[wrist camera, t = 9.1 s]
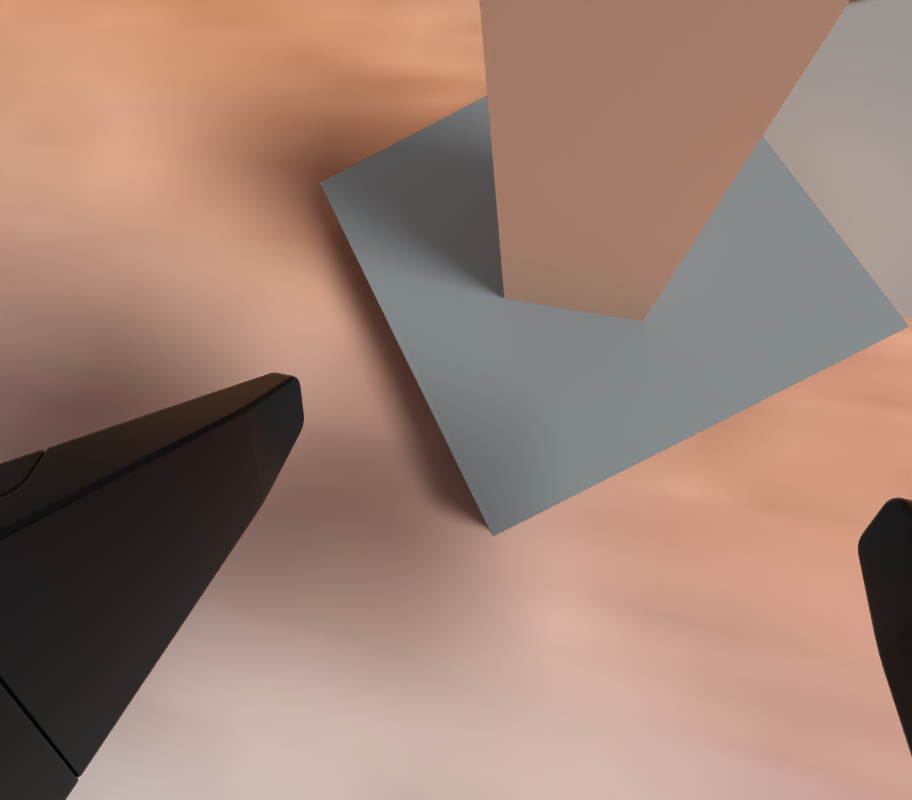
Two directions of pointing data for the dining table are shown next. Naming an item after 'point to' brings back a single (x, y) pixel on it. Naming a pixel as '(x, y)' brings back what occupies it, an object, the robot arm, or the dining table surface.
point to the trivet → (593, 319)
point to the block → (627, 132)
